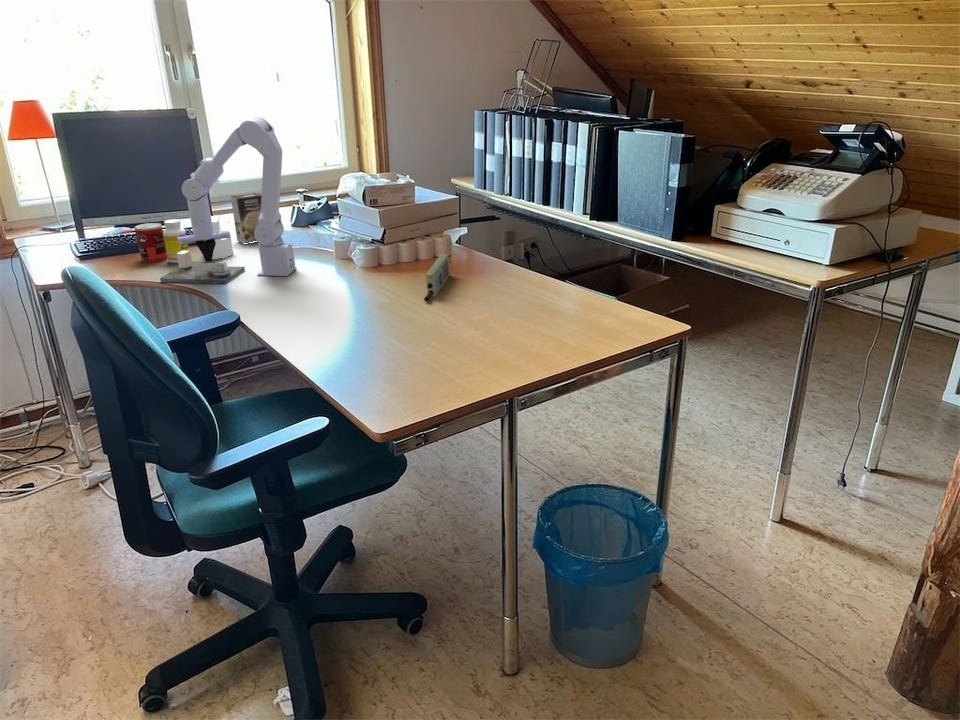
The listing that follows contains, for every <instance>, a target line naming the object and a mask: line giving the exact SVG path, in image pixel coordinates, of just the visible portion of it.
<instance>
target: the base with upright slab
mask: <svg viewBox="0 0 960 720" xmlns="http://www.w3.org/2000/svg"><path fill="white" fill-rule="evenodd" d="M211 220H212V225H213V231H214V232H220V231H222V230H221V224H220V219H219V216H218V215H211ZM230 237H231V238H229V239H227V238H225V239H217V240H215V242H216V245H215V248H214V251H213V256H212V260H219V259H218V258H222V259H225V258H224V257H227V258H229V257H228V256H230V257H232V256H233V255H234V250H233V243H232V242H233V241H232V236H231V235H230ZM204 242H205V241H204ZM232 254H233V255H232ZM231 255H232V256H231Z"/></svg>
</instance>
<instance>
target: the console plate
mask: <svg viewBox="0 0 960 720" xmlns="http://www.w3.org/2000/svg"><path fill="white" fill-rule="evenodd" d="M245 268H246V267H245V266H228V265H227V269H228V270H230V272H231V273H230V274H229V275H225V276H214V275H213V272H193V269H192V265H191V266H189V267H188V268H179V267H177V268H175V269H174V270H172V271H170V272H168V273H167V274H165V275H164V276H161V277H160V278H159V280H160V283H171V282H178V283H180V284H213V285H214V284H215V285H216V284H218V285H223V284H224V285H226V284H228V283H229V282H231V281H233V280H234V279H235V278H237V277H238V276H240V275H241V274H243V273H244V272H245V271H246V270H245ZM178 283H177V284H178Z"/></svg>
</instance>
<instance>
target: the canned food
mask: <svg viewBox="0 0 960 720" xmlns="http://www.w3.org/2000/svg"><path fill="white" fill-rule="evenodd" d="M134 230H135V237H136V241H137V245H138V248H139V249H138V250H139V253H140V258H141V260H142V262H144V261H146V262H145V263H156V262H155V261H158V262H162V260H163V261H165V260H168V257H167V252H166V247H165V242H164V237H163V231H164V230H163V226H162V224H161V223H159V222H149V223H141V224H138V225H136V226H134Z"/></svg>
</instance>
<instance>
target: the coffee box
mask: <svg viewBox="0 0 960 720" xmlns="http://www.w3.org/2000/svg"><path fill="white" fill-rule="evenodd" d="M261 197H262V194H260V193H256V192H253V193H245V194H237V195H235V194H234V195H231V196H230V201H231V206H232V212H233V213H232V215H233V221H234V227H235V234H236V235H235V236H236V240H237V241H239V242H241V243H249V242H253V241H256V239H255V237H254V231H255V229H256V227H257V225H258V219H259V216H260V213H261ZM239 242H238V243H239ZM241 243H240V244H241Z"/></svg>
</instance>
